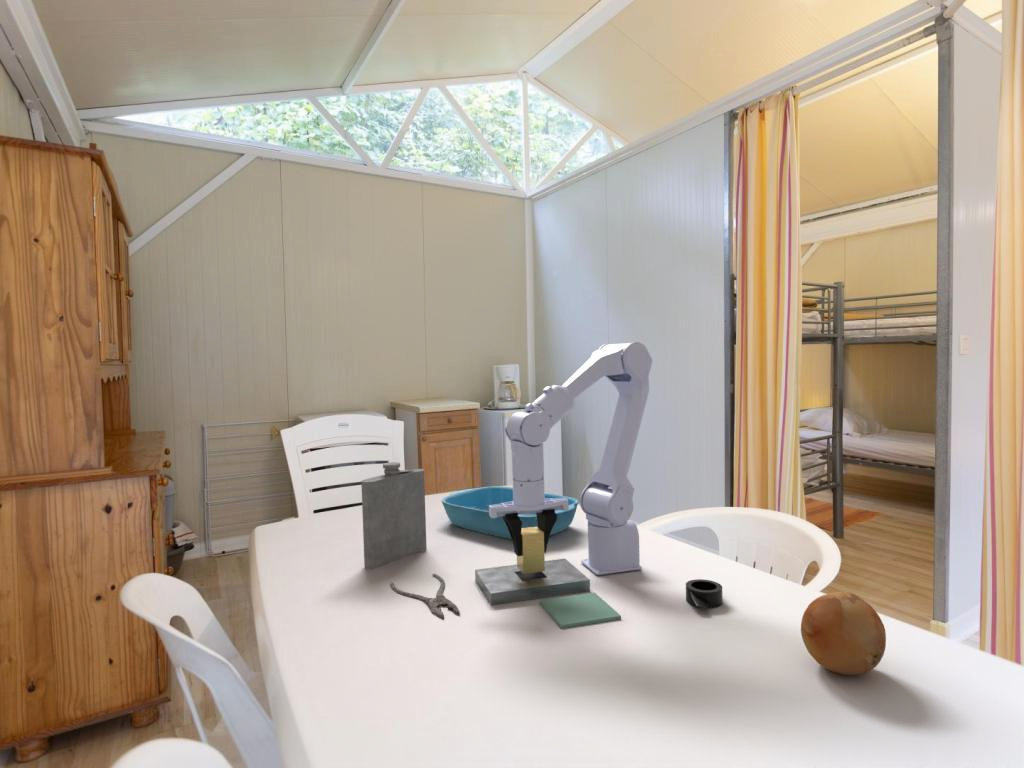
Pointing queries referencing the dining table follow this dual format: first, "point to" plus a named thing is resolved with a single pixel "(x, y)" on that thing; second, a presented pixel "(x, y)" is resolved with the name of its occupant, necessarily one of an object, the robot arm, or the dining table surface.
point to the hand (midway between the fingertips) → (530, 552)
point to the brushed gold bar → (531, 551)
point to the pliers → (433, 599)
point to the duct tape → (704, 593)
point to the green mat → (579, 610)
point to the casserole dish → (474, 515)
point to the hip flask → (393, 515)
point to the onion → (843, 633)
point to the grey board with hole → (530, 582)
